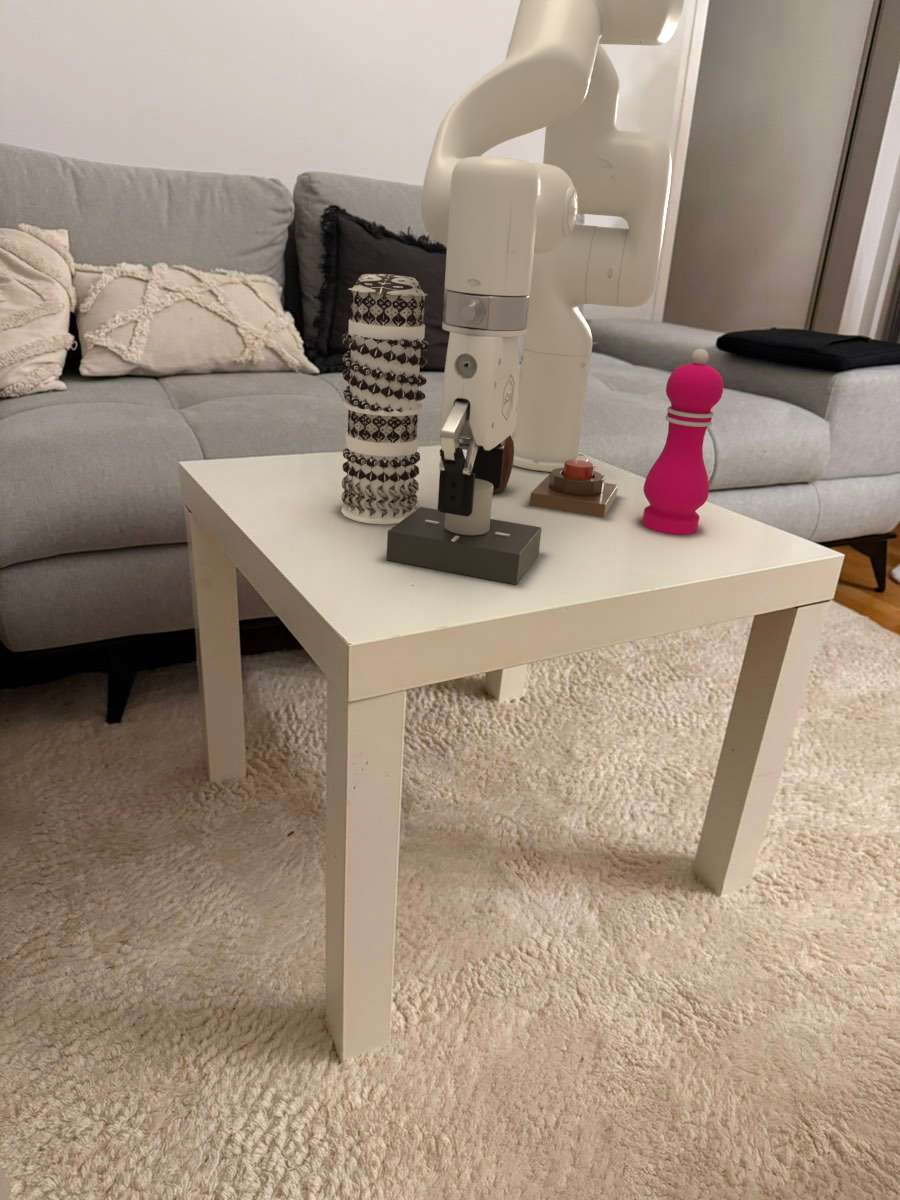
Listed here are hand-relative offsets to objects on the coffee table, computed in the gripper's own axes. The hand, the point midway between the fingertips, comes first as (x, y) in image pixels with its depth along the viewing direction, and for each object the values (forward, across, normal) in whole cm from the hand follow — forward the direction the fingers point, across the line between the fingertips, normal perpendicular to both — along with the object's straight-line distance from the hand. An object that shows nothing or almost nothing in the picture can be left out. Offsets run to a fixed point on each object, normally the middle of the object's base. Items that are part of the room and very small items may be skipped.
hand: (470, 499), depth 82 cm
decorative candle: (+6, +8, +13) cm, 17 cm away
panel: (+6, -1, 0) cm, 6 cm away
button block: (+6, +25, -6) cm, 27 cm away
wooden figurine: (+7, +24, +5) cm, 26 cm away
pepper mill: (+6, +21, -18) cm, 29 cm away
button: (+3, +25, -6) cm, 26 cm away
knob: (+3, -1, 0) cm, 3 cm away
